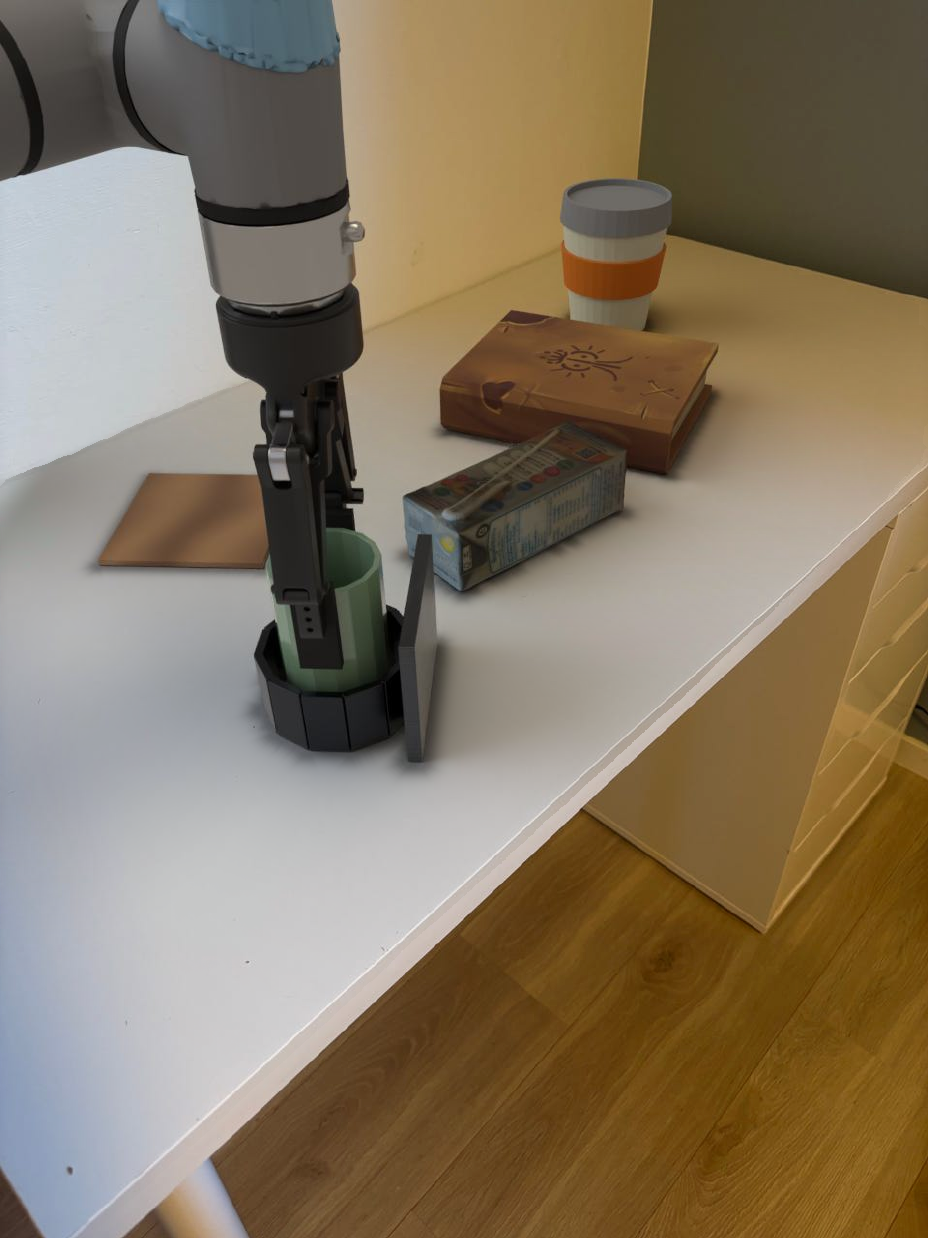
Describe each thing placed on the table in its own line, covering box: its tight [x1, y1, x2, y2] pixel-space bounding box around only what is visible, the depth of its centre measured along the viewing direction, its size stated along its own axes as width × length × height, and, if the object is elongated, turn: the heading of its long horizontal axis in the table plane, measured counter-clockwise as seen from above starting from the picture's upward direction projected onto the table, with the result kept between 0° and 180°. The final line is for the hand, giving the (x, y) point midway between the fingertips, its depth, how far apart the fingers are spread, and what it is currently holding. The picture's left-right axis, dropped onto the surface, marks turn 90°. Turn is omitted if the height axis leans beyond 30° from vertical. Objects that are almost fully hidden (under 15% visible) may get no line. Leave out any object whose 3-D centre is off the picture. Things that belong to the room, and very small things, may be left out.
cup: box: [264, 528, 392, 692], centre depth 67 cm, size 7×7×12 cm
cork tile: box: [97, 472, 270, 569], centre depth 88 cm, size 14×14×1 cm
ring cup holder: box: [253, 534, 438, 763], centre depth 67 cm, size 12×12×10 cm
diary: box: [439, 309, 720, 475], centre depth 101 cm, size 23×19×6 cm
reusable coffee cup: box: [559, 177, 673, 331], centre depth 115 cm, size 13×13×15 cm
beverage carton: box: [401, 421, 627, 592], centre depth 84 cm, size 8×19×7 cm, turn 129°
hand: (332, 625), depth 66 cm, fingers closed on cup, 7 cm apart
